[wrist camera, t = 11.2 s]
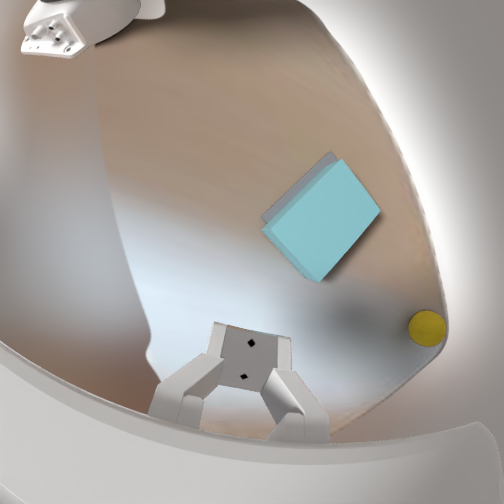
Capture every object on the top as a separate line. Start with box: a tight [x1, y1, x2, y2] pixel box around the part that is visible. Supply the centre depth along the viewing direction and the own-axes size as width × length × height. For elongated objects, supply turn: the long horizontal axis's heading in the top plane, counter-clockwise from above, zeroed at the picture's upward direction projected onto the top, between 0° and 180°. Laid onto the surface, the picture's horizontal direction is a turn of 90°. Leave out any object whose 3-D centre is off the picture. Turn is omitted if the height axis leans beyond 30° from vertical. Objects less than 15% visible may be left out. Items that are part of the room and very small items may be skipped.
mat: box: [261, 151, 338, 224], centre depth 33 cm, size 13×10×1 cm
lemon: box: [408, 310, 446, 347], centre depth 34 cm, size 6×6×8 cm
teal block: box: [261, 159, 381, 283], centre depth 31 cm, size 4×8×12 cm
